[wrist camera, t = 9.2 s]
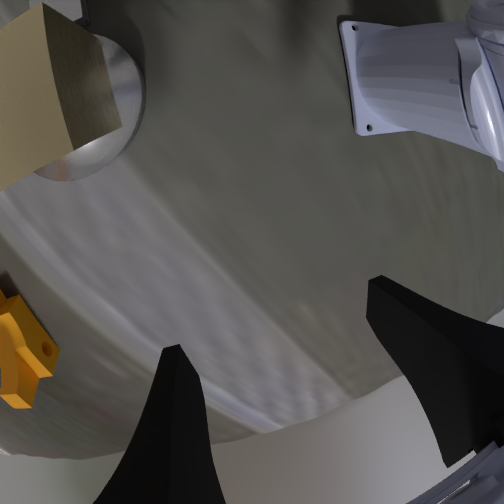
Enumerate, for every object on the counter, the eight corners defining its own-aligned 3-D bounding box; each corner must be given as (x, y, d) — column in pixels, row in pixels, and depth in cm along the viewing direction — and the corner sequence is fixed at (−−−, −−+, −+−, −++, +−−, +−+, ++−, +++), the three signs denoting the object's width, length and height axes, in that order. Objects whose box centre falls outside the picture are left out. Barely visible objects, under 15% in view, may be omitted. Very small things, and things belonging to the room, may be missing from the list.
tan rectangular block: (100, 40, 10) (42, 1, 4) (122, 127, 12) (73, 150, 6) (20, 82, 9) (-65, 89, 3) (42, 163, 12) (-33, 214, 6)
